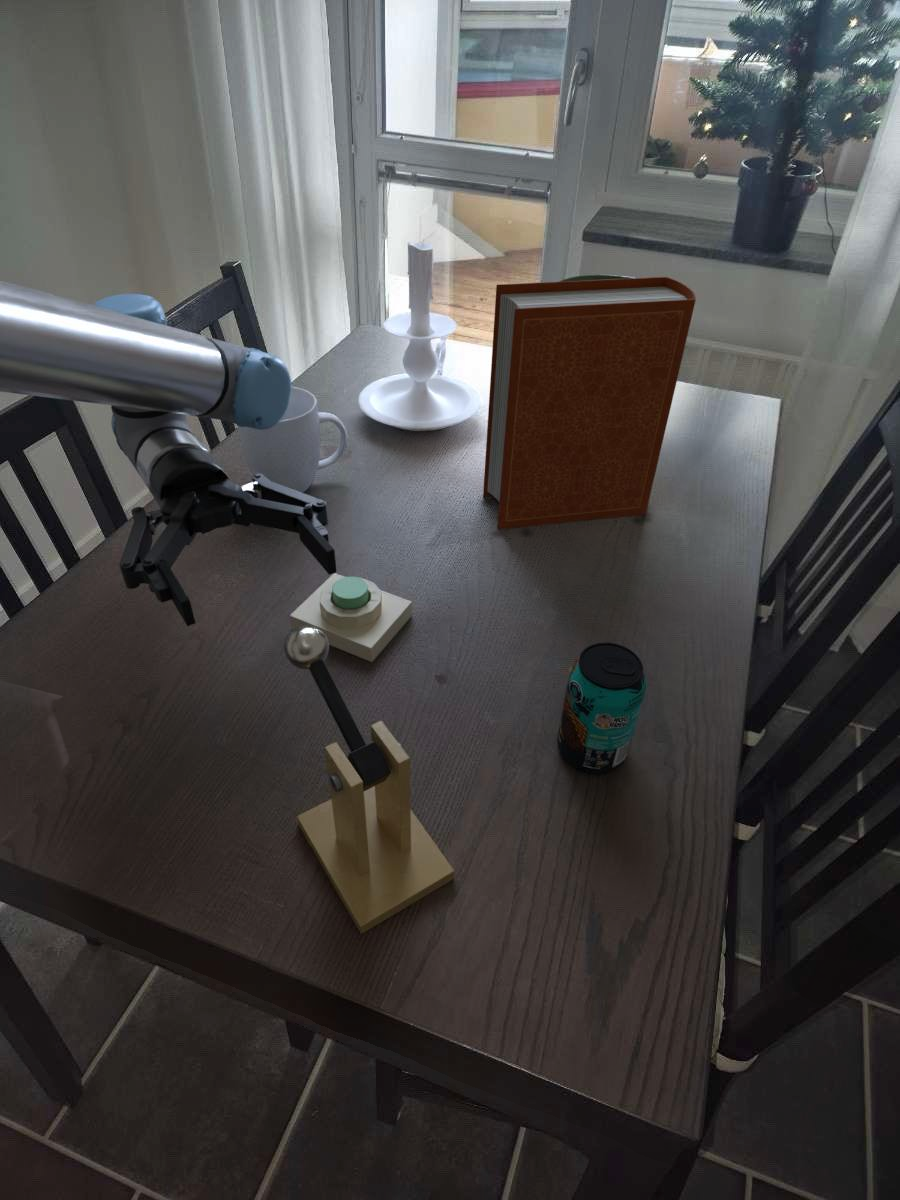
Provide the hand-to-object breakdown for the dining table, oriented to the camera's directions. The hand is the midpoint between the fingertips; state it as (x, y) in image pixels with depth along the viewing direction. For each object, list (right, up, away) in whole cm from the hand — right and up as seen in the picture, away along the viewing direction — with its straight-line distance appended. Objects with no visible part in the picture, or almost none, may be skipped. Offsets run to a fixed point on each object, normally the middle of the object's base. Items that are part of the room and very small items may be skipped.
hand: (263, 586), depth 68 cm
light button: (+5, -1, +19) cm, 20 cm away
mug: (-6, +16, +44) cm, 47 cm away
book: (+33, +12, +41) cm, 55 cm away
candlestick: (+12, +31, +62) cm, 71 cm away
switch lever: (+7, -10, -6) cm, 14 cm away
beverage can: (+31, -16, +8) cm, 36 cm away
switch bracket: (+10, -23, -1) cm, 25 cm away
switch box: (+5, -4, +21) cm, 22 cm away
